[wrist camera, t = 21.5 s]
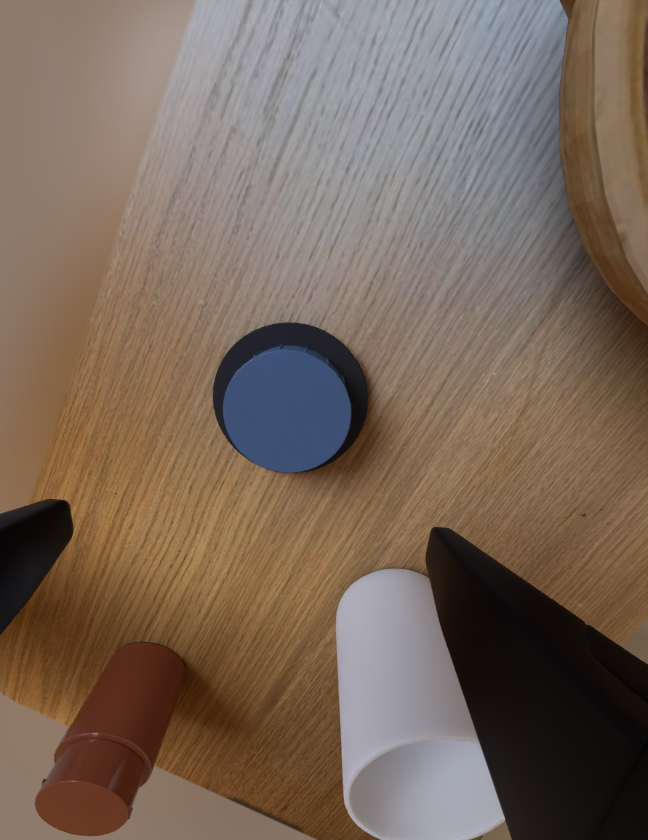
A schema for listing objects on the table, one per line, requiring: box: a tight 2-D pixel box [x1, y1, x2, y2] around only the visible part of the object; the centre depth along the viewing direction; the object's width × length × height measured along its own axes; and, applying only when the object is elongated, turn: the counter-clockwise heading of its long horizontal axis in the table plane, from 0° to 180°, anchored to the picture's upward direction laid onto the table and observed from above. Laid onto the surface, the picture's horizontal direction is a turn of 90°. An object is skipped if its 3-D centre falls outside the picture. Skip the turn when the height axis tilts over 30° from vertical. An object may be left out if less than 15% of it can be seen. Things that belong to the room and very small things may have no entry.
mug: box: [336, 568, 505, 840], centre depth 21 cm, size 12×8×10 cm
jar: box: [35, 642, 186, 836], centre depth 23 cm, size 6×6×8 cm
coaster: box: [213, 323, 368, 473], centre depth 20 cm, size 9×9×1 cm
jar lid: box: [223, 344, 352, 473], centre depth 19 cm, size 7×7×2 cm
